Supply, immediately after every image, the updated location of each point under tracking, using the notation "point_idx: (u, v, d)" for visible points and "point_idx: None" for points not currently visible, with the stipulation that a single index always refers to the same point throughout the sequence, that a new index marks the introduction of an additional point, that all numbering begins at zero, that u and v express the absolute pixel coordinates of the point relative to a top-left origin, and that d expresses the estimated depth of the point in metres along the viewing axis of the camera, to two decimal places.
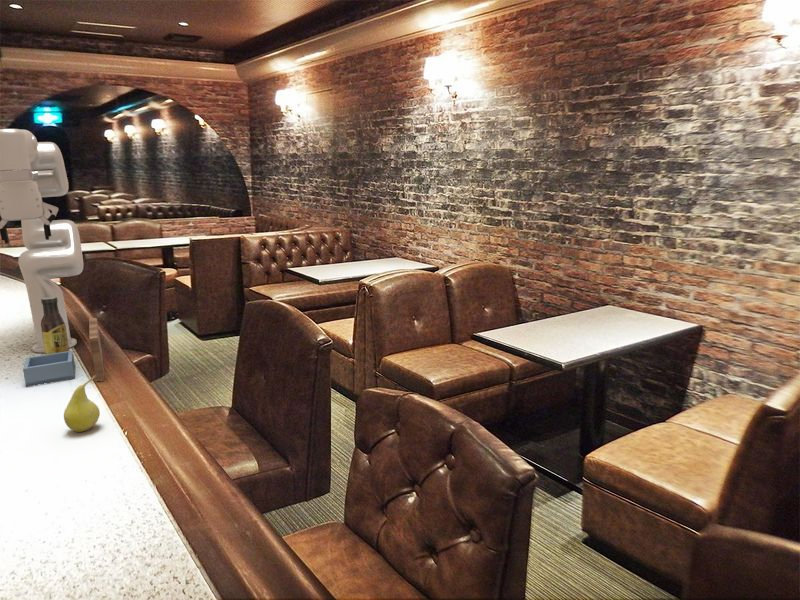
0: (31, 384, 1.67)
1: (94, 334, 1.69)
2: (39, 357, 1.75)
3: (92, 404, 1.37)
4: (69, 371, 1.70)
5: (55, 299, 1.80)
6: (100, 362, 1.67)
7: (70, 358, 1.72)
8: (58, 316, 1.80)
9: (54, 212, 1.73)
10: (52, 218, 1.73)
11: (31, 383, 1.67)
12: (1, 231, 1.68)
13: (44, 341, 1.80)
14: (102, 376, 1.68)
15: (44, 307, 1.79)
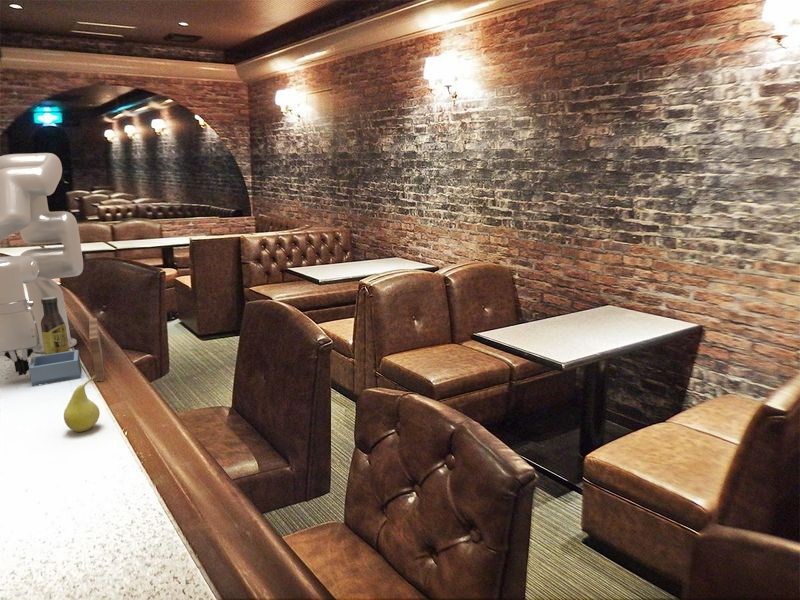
0: (37, 383, 1.67)
1: (94, 334, 1.69)
2: (45, 356, 1.76)
3: (92, 404, 1.37)
4: (75, 370, 1.71)
5: (55, 299, 1.80)
6: (100, 362, 1.67)
7: (76, 357, 1.73)
8: (58, 316, 1.80)
9: (35, 349, 1.70)
10: (29, 353, 1.69)
11: (37, 382, 1.67)
12: (15, 364, 1.68)
13: (44, 341, 1.80)
14: (102, 376, 1.68)
15: (44, 307, 1.79)
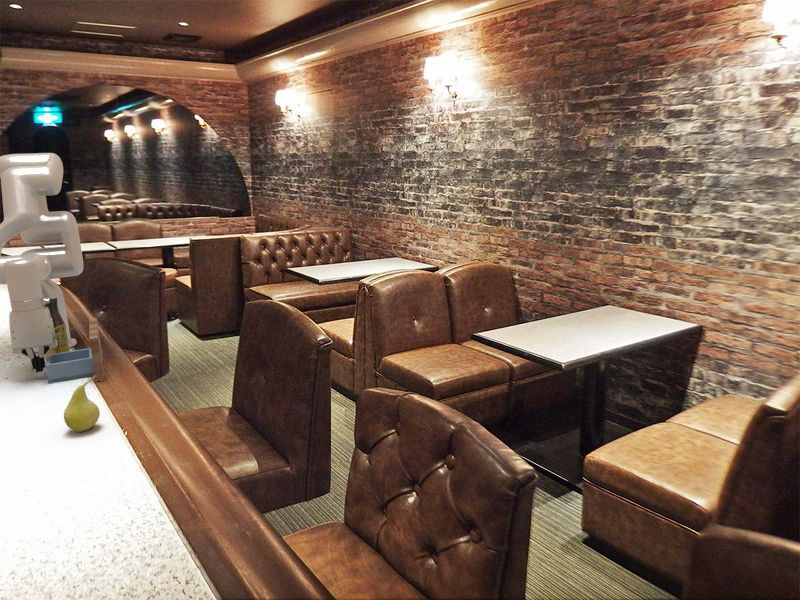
0: (53, 381, 1.69)
1: (94, 334, 1.69)
2: (60, 354, 1.77)
3: (92, 404, 1.37)
4: (90, 368, 1.72)
5: (55, 299, 1.80)
6: (100, 362, 1.67)
7: (91, 355, 1.74)
8: (58, 316, 1.80)
9: (51, 346, 1.71)
10: (46, 350, 1.71)
11: (54, 379, 1.69)
12: (32, 361, 1.70)
13: None
14: (102, 376, 1.68)
15: None
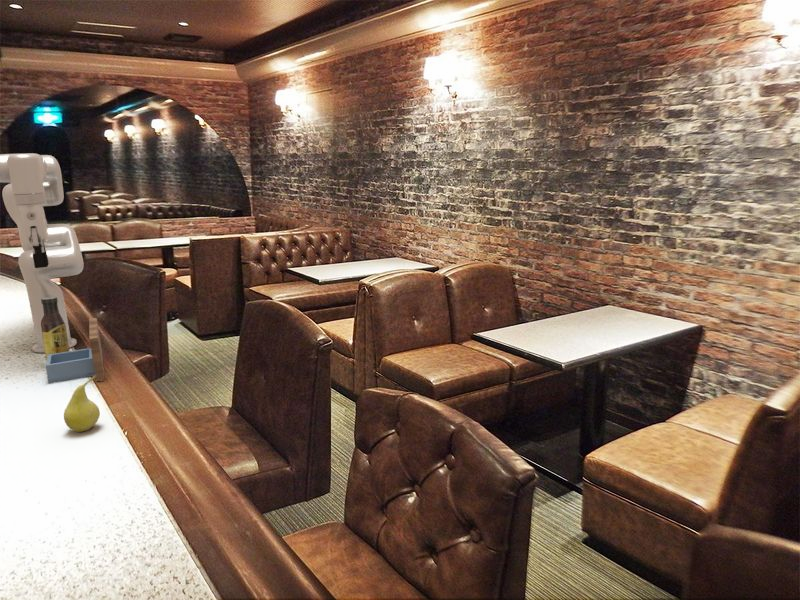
0: (53, 381, 1.69)
1: (94, 334, 1.69)
2: (60, 354, 1.77)
3: (92, 404, 1.37)
4: (90, 368, 1.72)
5: (55, 299, 1.80)
6: (100, 362, 1.67)
7: (91, 355, 1.74)
8: (58, 316, 1.80)
9: (34, 245, 1.71)
10: None
11: (54, 379, 1.69)
12: None
13: (44, 341, 1.80)
14: (102, 376, 1.68)
15: (44, 307, 1.79)
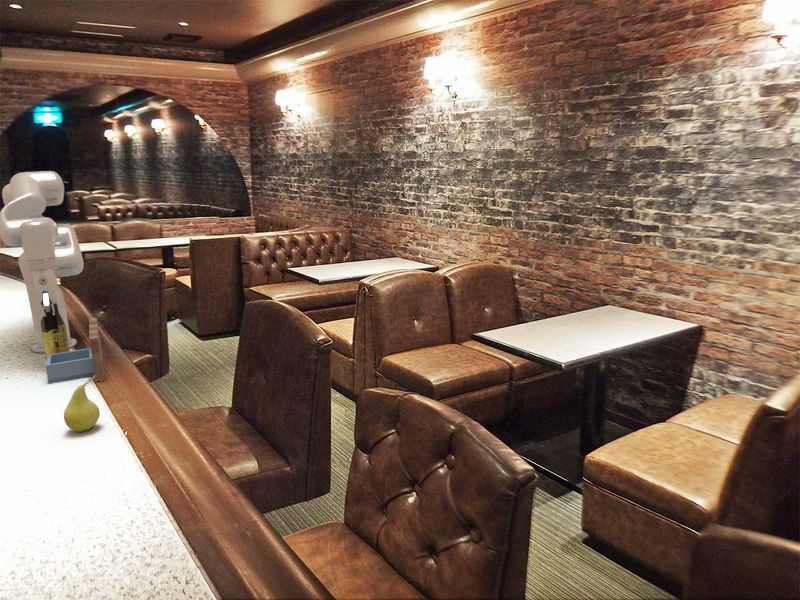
0: (53, 381, 1.69)
1: (94, 334, 1.69)
2: (60, 354, 1.77)
3: (92, 404, 1.37)
4: (90, 368, 1.72)
5: None
6: (100, 362, 1.67)
7: (91, 355, 1.74)
8: (58, 316, 1.80)
9: (45, 308, 1.74)
10: None
11: (54, 379, 1.69)
12: None
13: (44, 341, 1.80)
14: (102, 376, 1.68)
15: None
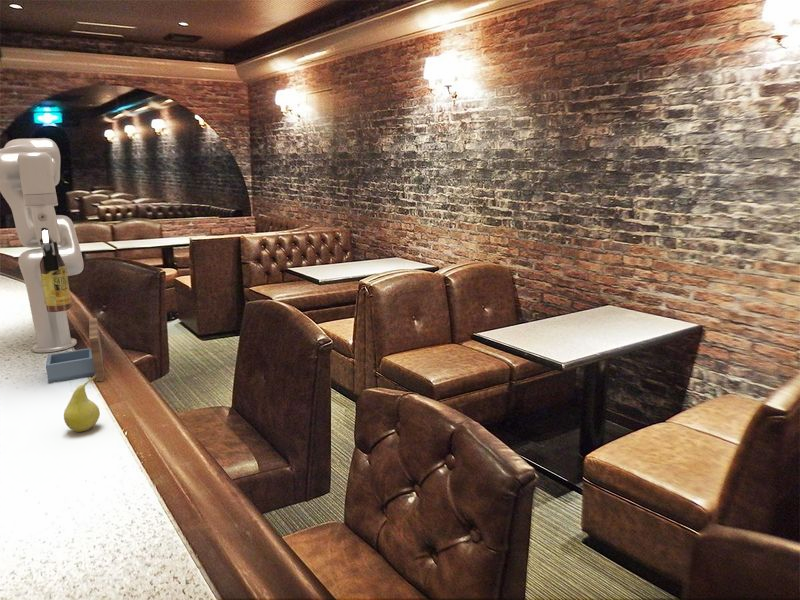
0: (53, 381, 1.69)
1: (94, 334, 1.69)
2: (60, 354, 1.77)
3: (92, 404, 1.37)
4: (90, 368, 1.72)
5: None
6: (100, 362, 1.67)
7: (91, 355, 1.74)
8: (58, 257, 1.68)
9: (44, 245, 1.62)
10: None
11: (54, 379, 1.69)
12: None
13: (43, 284, 1.67)
14: (102, 376, 1.68)
15: None
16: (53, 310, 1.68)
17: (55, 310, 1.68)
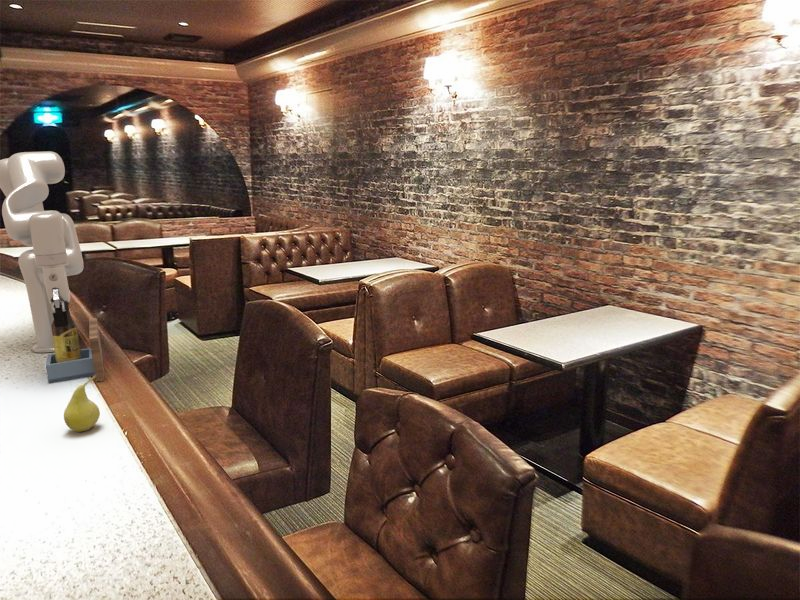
0: (53, 381, 1.69)
1: (94, 334, 1.69)
2: None
3: (92, 404, 1.37)
4: (90, 368, 1.72)
5: (66, 301, 1.71)
6: (100, 362, 1.67)
7: (91, 355, 1.74)
8: (70, 319, 1.72)
9: (54, 302, 1.64)
10: None
11: (54, 379, 1.69)
12: None
13: (55, 345, 1.71)
14: (102, 376, 1.68)
15: None
16: None
17: None
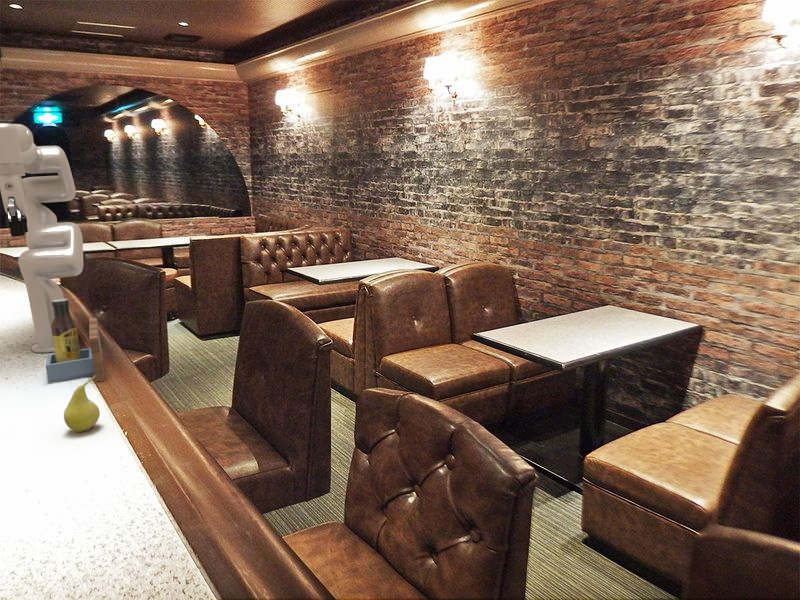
0: (53, 381, 1.69)
1: (94, 334, 1.69)
2: None
3: (92, 404, 1.37)
4: (90, 368, 1.72)
5: (66, 301, 1.71)
6: (100, 362, 1.67)
7: (91, 355, 1.74)
8: (69, 319, 1.72)
9: (9, 210, 1.66)
10: None
11: (54, 379, 1.69)
12: None
13: (55, 345, 1.71)
14: (102, 376, 1.68)
15: (55, 310, 1.70)
16: None
17: None
